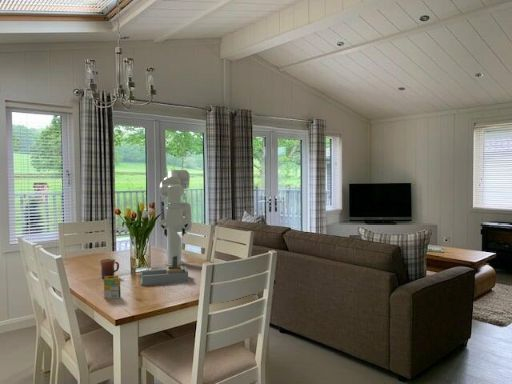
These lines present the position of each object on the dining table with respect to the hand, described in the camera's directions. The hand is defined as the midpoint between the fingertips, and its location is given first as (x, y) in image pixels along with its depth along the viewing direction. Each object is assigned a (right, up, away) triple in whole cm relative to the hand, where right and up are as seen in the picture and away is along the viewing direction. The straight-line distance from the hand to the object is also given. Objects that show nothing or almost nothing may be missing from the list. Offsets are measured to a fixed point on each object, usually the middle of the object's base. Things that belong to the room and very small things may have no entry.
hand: (174, 235), depth 232 cm
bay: (-6, -26, 0) cm, 27 cm away
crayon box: (-25, -28, -32) cm, 49 cm away
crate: (0, -25, +1) cm, 25 cm away
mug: (-40, -26, +8) cm, 49 cm away
